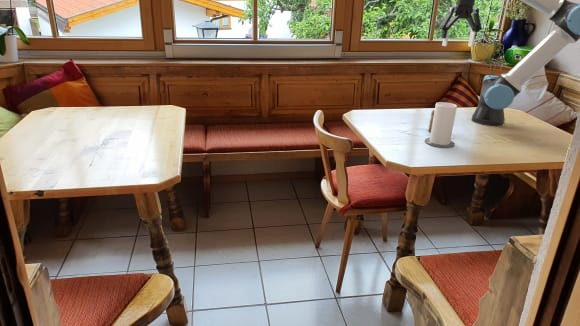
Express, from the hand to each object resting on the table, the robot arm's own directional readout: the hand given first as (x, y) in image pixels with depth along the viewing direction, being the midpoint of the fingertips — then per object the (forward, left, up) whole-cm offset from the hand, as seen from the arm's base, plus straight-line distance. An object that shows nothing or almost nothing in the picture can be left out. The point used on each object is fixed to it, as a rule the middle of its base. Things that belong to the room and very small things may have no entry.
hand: (457, 46), depth 196 cm
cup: (+19, +27, -36) cm, 49 cm away
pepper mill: (+13, +12, -37) cm, 41 cm away
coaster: (+19, +27, -37) cm, 49 cm away
